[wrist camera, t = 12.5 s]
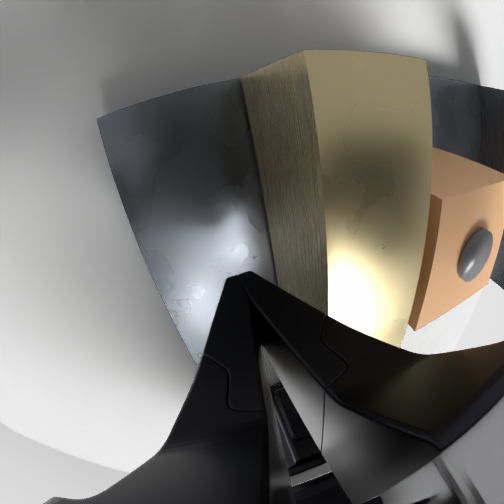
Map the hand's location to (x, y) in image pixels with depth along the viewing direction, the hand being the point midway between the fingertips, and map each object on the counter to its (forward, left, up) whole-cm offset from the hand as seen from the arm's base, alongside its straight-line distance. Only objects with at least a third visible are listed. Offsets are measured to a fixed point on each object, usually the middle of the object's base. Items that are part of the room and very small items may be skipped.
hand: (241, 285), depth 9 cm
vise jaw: (0, -3, -2) cm, 4 cm away
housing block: (0, -8, -2) cm, 8 cm away
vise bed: (0, -8, -4) cm, 9 cm away
